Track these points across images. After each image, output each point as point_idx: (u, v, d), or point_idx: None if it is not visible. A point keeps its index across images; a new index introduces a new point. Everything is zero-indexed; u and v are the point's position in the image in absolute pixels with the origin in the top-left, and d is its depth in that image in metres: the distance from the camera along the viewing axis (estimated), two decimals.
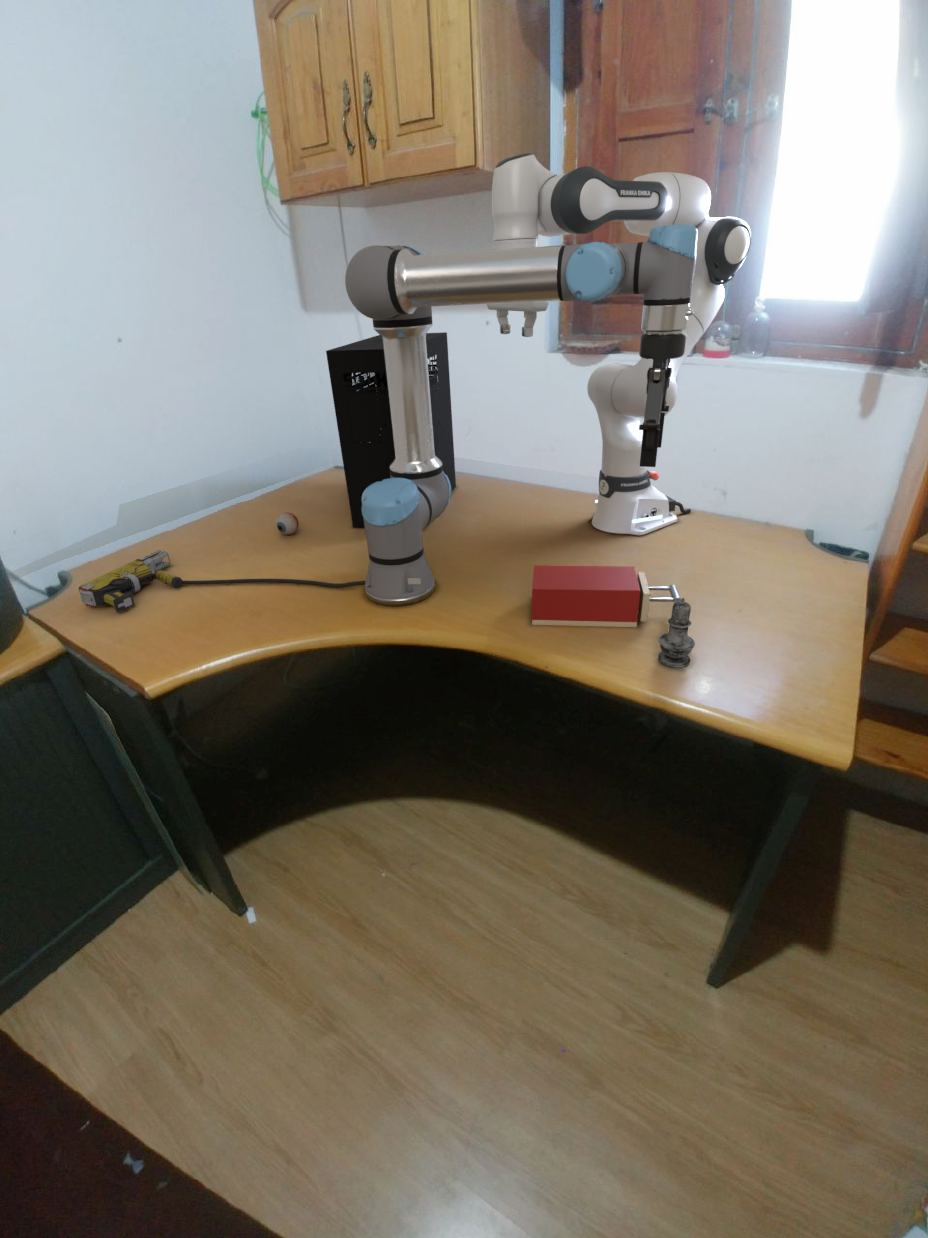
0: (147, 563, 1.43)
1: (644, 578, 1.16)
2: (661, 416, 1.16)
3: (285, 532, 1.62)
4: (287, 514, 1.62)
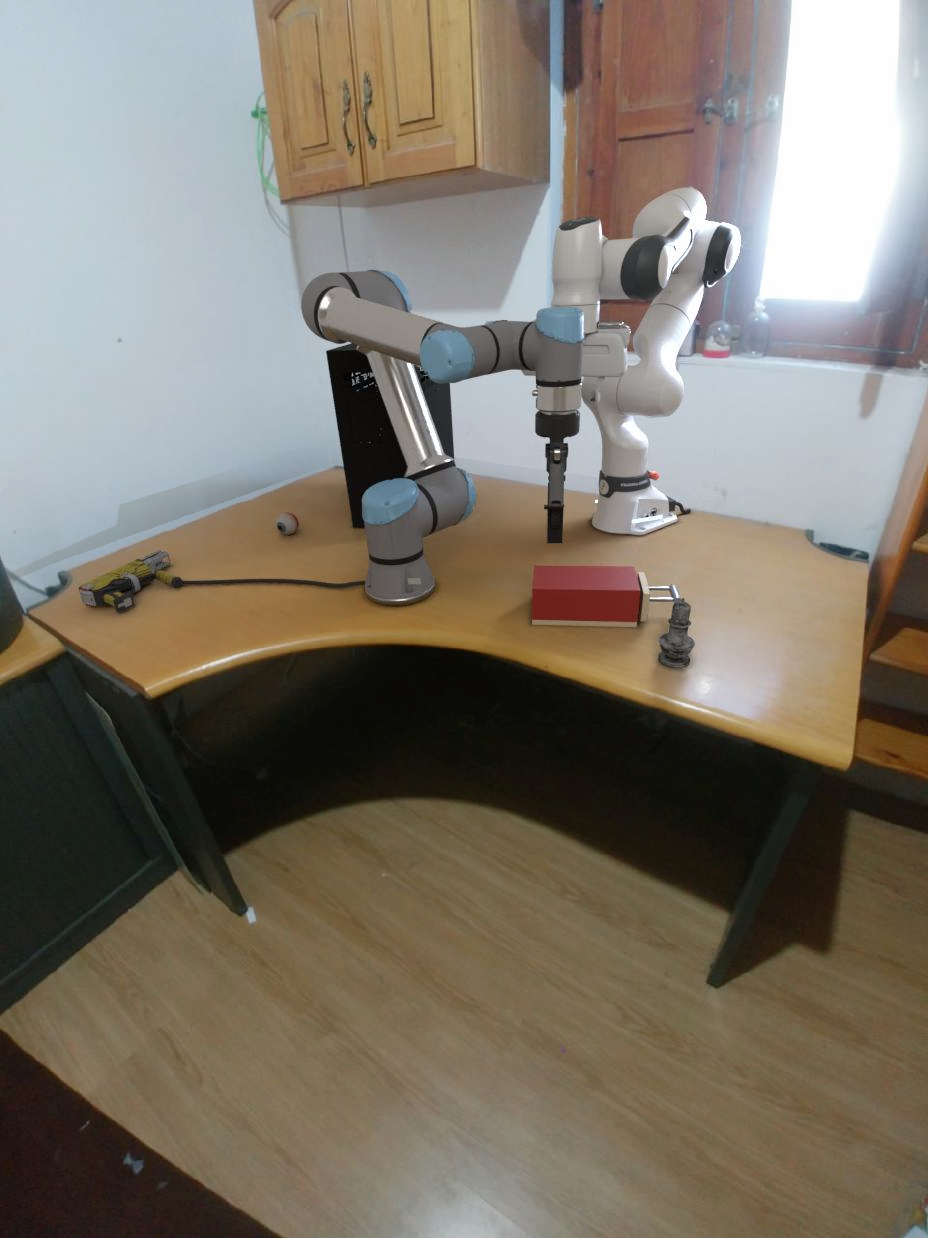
0: (147, 563, 1.43)
1: (644, 578, 1.16)
2: None
3: (285, 532, 1.62)
4: (287, 514, 1.62)
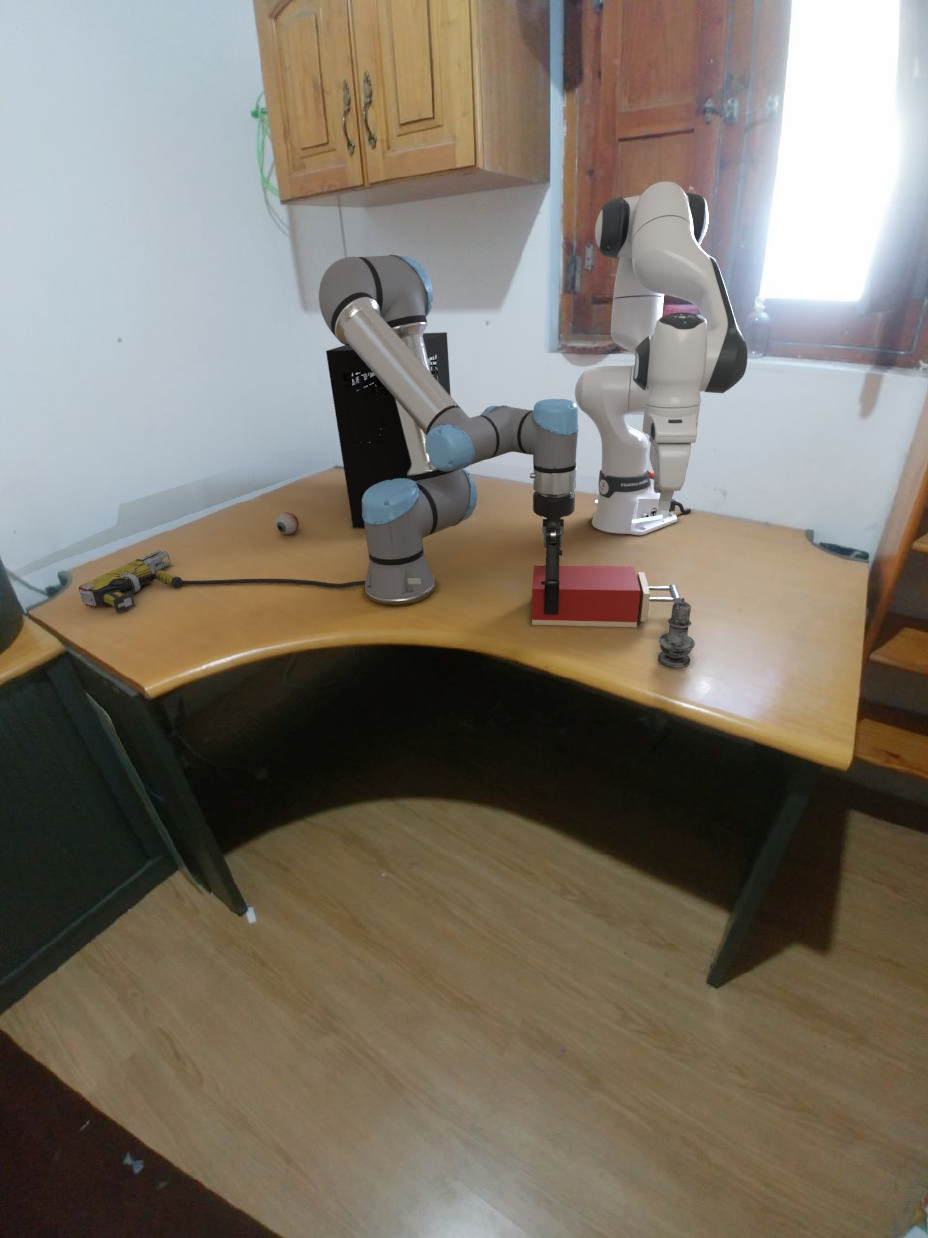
0: (147, 563, 1.43)
1: (644, 578, 1.16)
2: None
3: (285, 532, 1.62)
4: (287, 514, 1.62)
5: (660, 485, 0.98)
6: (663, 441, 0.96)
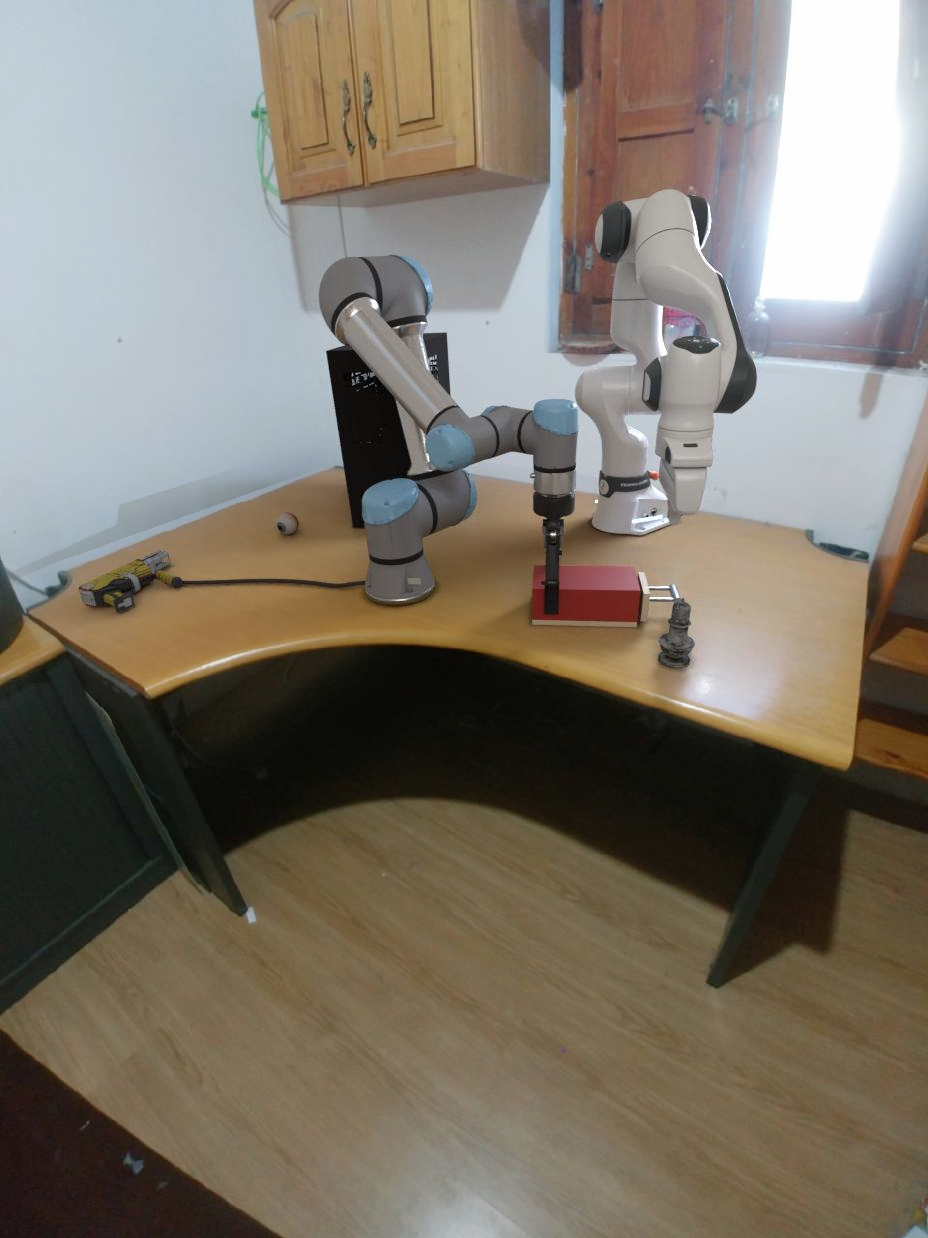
0: (147, 563, 1.43)
1: (644, 578, 1.16)
2: None
3: (285, 532, 1.62)
4: (287, 514, 1.62)
5: (676, 509, 0.97)
6: (679, 465, 0.95)
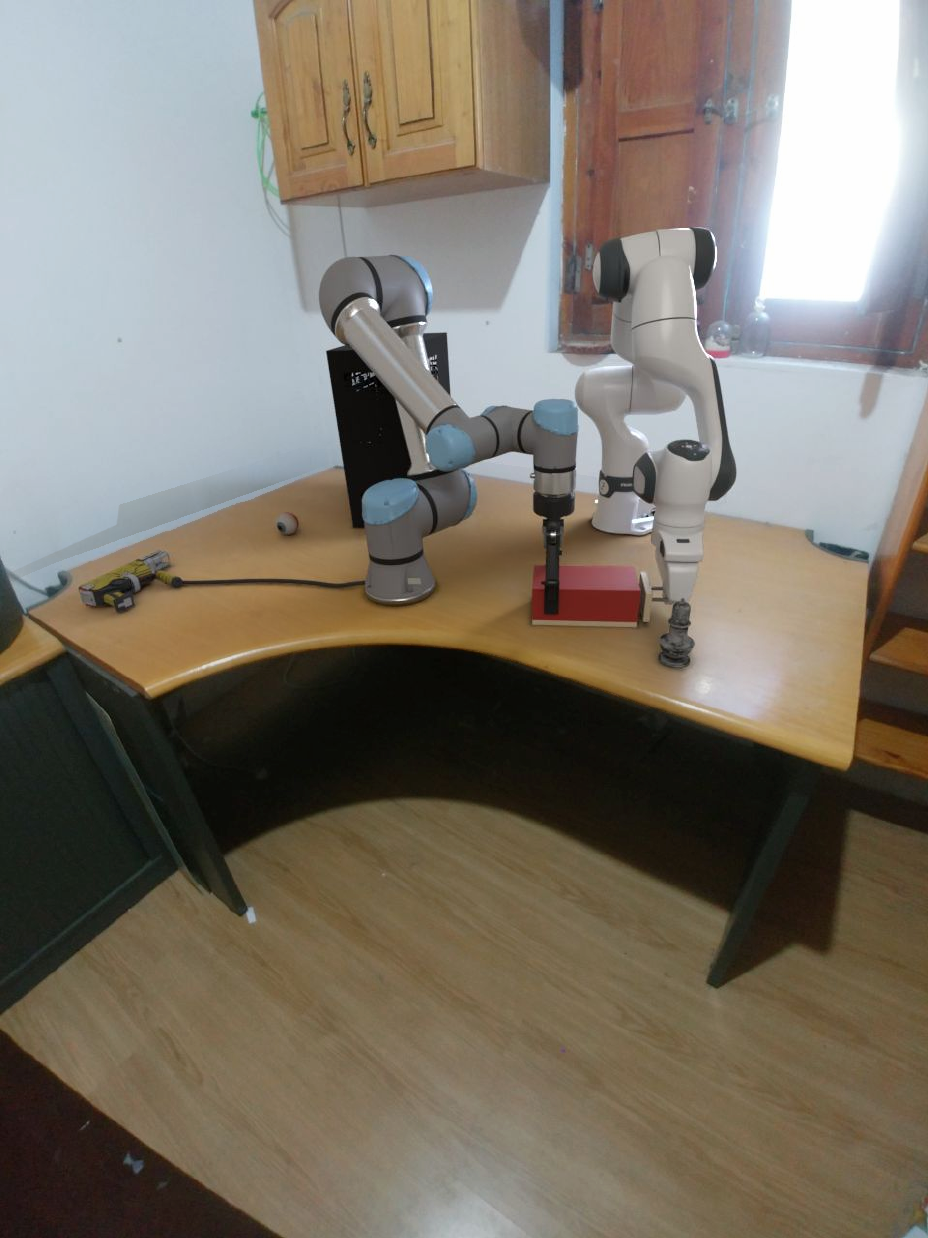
0: (147, 563, 1.43)
1: (646, 578, 1.16)
2: None
3: (285, 532, 1.62)
4: (287, 514, 1.62)
5: (669, 598, 1.05)
6: (672, 560, 1.03)
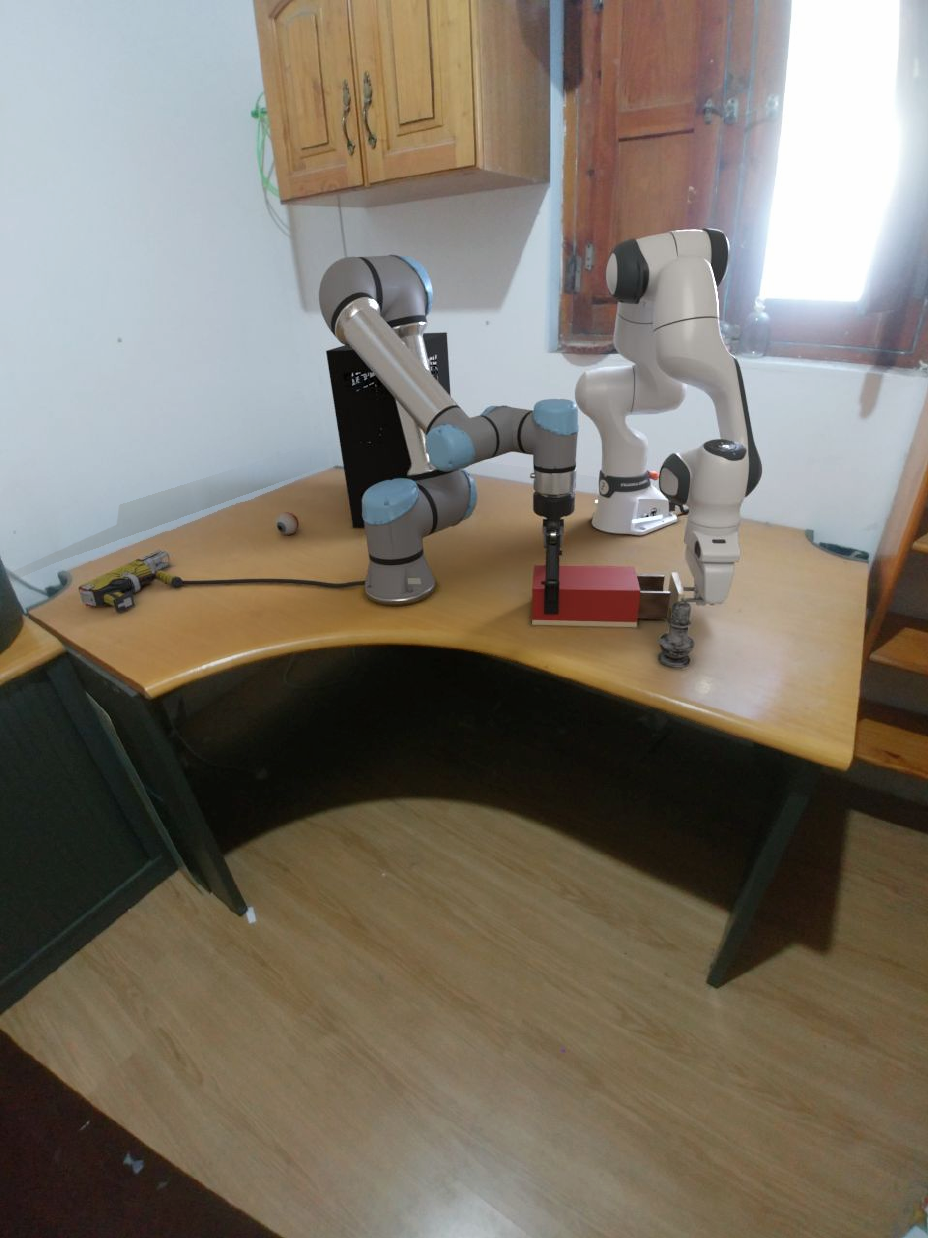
0: (147, 563, 1.43)
1: (678, 578, 1.15)
2: None
3: (285, 532, 1.62)
4: (287, 514, 1.62)
5: (705, 599, 1.04)
6: (708, 561, 1.02)
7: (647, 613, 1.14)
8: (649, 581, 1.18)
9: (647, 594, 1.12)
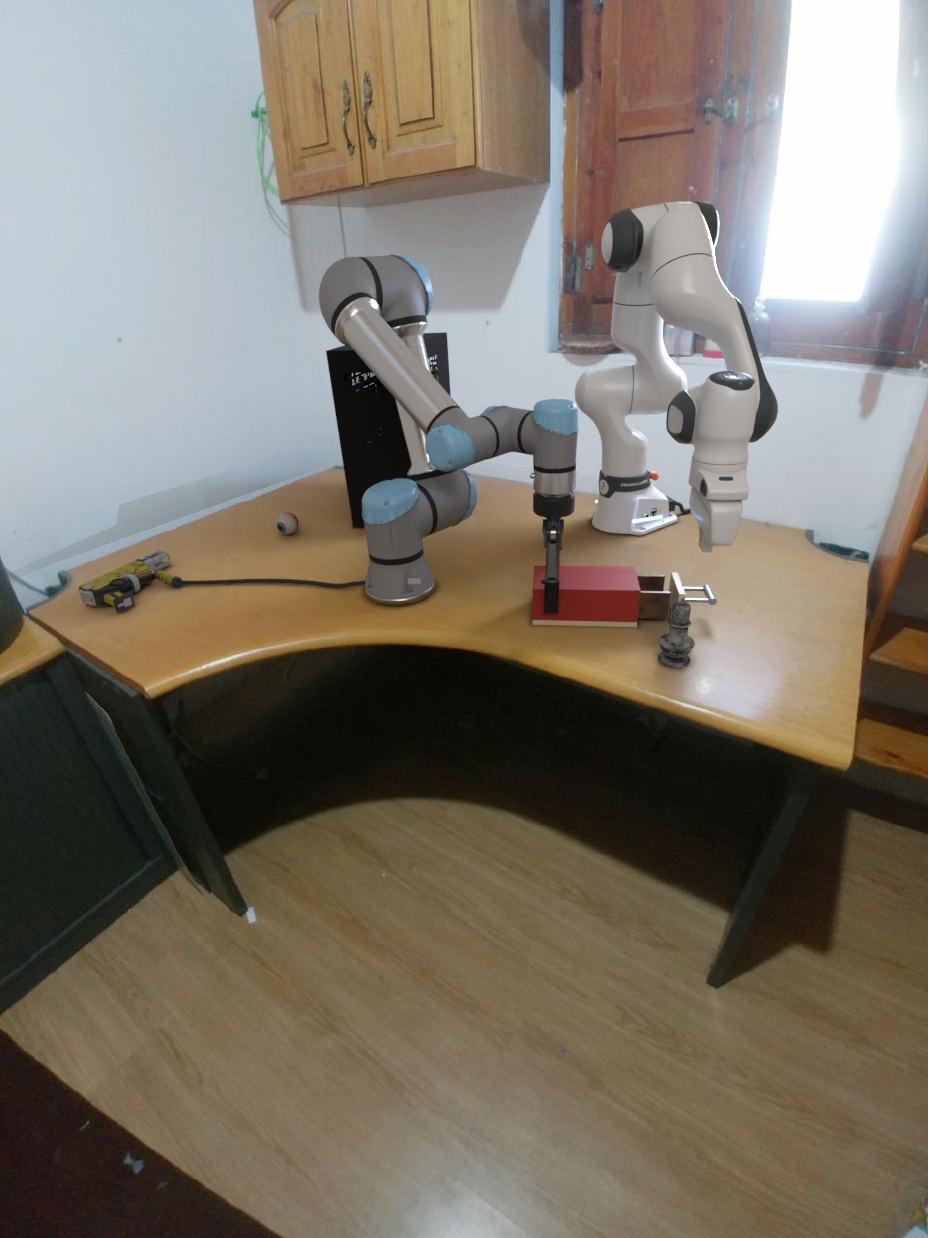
0: (147, 563, 1.43)
1: (678, 578, 1.15)
2: None
3: (285, 532, 1.62)
4: (287, 514, 1.62)
5: (711, 541, 0.99)
6: (715, 499, 0.97)
7: (647, 613, 1.14)
8: (649, 581, 1.18)
9: (647, 594, 1.12)
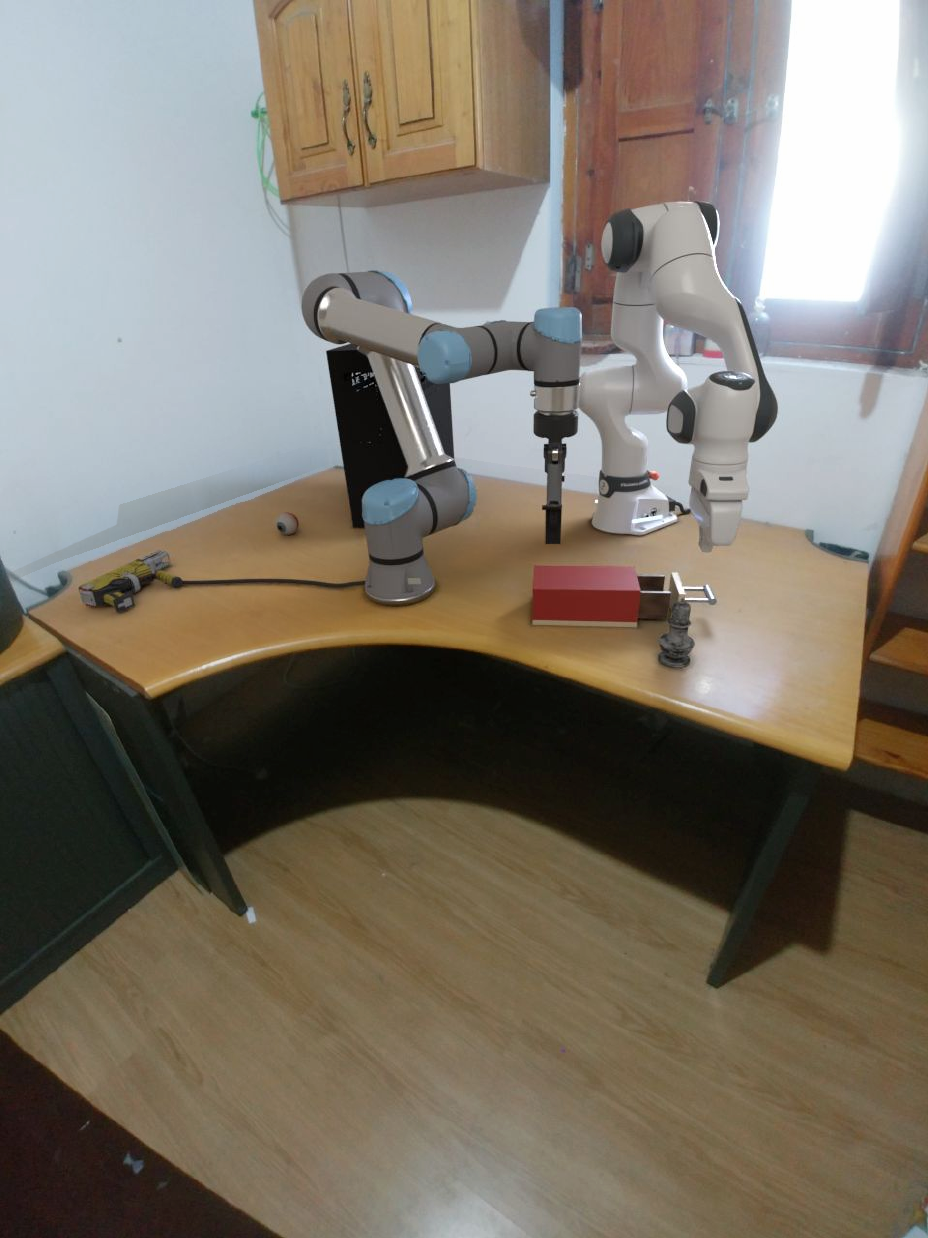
0: (147, 563, 1.43)
1: (678, 578, 1.15)
2: None
3: (285, 532, 1.62)
4: (287, 514, 1.62)
5: (711, 541, 0.99)
6: (715, 499, 0.97)
7: (647, 613, 1.14)
8: (649, 581, 1.18)
9: (647, 594, 1.12)
